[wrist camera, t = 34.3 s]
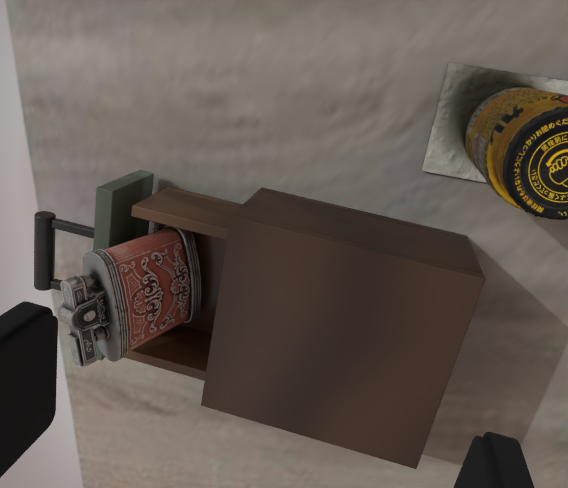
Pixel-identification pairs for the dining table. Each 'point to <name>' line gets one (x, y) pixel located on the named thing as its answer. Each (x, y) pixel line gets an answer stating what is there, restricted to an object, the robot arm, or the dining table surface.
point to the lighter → (131, 294)
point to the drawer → (134, 224)
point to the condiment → (504, 136)
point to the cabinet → (339, 323)
